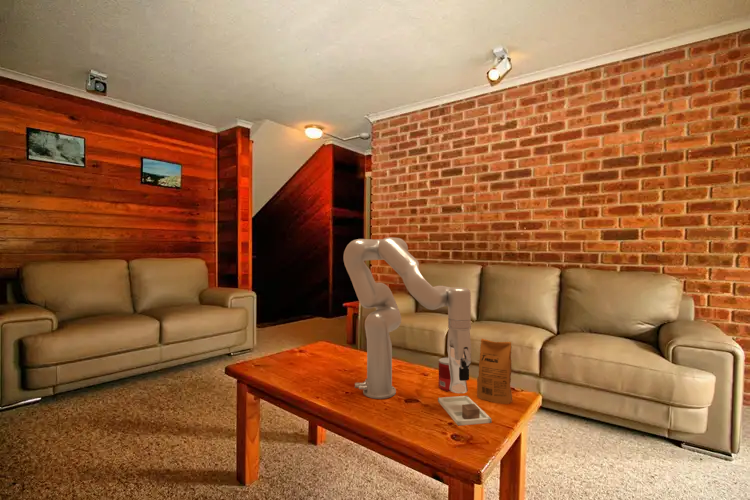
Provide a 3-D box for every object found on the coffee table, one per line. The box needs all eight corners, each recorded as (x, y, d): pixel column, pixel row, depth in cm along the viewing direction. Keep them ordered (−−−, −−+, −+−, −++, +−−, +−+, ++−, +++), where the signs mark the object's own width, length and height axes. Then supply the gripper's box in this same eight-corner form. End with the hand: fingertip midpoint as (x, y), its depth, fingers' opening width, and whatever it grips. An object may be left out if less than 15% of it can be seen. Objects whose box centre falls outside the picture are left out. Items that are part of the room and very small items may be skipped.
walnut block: (467, 423, 112) (467, 410, 112) (462, 417, 116) (462, 404, 116) (479, 421, 113) (479, 409, 113) (473, 416, 117) (473, 403, 117)
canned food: (459, 392, 139) (459, 364, 139) (438, 390, 141) (438, 362, 141) (458, 385, 147) (458, 358, 147) (438, 383, 149) (438, 356, 149)
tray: (458, 429, 111) (458, 421, 111) (437, 404, 129) (437, 397, 129) (491, 426, 113) (491, 418, 113) (467, 402, 130) (467, 395, 130)
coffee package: (480, 392, 140) (480, 335, 140) (514, 399, 133) (514, 339, 133) (473, 401, 131) (473, 340, 131) (509, 409, 125) (509, 345, 125)
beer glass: (445, 386, 127) (445, 343, 127) (465, 385, 127) (465, 343, 127) (451, 394, 120) (451, 348, 120) (472, 393, 120) (472, 348, 120)
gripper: (440, 319, 131) (440, 369, 131) (459, 329, 114) (459, 386, 114) (459, 318, 133) (460, 367, 133) (481, 328, 116) (481, 385, 116)
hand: (459, 376), depth 123 cm, fingers closed on beer glass, 6 cm apart
